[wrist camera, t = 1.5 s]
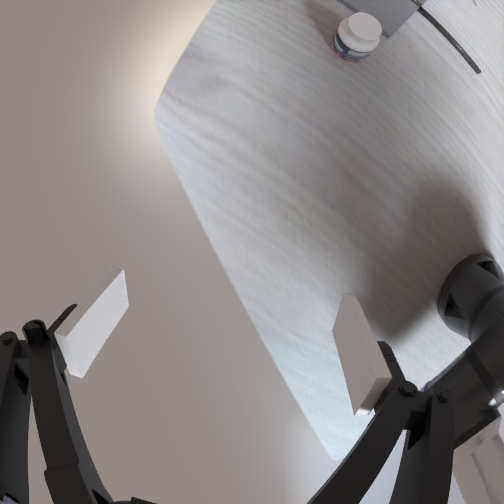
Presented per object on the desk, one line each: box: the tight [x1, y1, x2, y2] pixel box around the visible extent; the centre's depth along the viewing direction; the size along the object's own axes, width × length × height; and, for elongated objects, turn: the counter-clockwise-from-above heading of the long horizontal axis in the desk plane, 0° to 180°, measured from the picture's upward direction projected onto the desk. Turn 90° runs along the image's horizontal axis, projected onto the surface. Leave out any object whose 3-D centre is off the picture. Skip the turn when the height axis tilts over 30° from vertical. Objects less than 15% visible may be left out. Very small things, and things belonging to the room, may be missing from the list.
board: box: [338, 0, 481, 74], centre depth 24 cm, size 30×20×2 cm, turn 51°
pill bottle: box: [331, 12, 382, 63], centre depth 26 cm, size 5×5×9 cm
